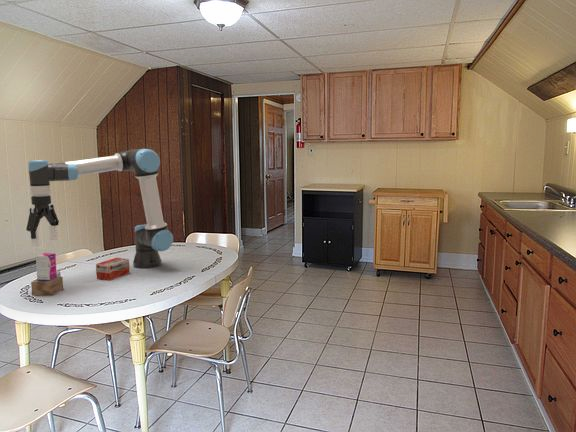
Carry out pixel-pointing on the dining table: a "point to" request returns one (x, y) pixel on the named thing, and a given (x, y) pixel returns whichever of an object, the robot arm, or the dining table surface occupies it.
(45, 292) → the brown cardboard box
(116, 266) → the medicine box
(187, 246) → the dining table surface
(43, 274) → the supplement box
